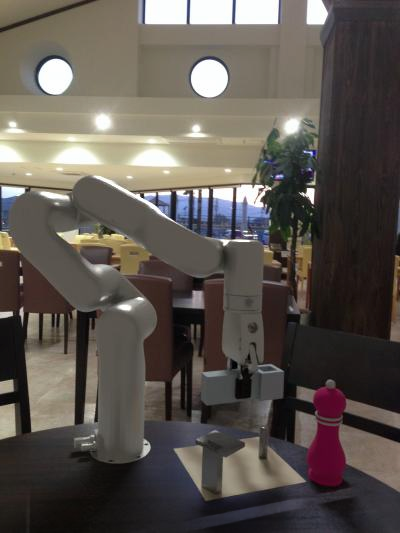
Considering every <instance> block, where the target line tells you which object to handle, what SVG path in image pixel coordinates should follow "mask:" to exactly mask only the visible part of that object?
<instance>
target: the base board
mask: <svg viewBox="0 0 400 533" xmlns="http://www.w3.org/2000/svg"><path fill="white" fill-rule="evenodd" d="M239 440H240V441H243V442H245V447H244V448H242V449H240V450H238V451H237V452H235V453H233V454H231V455H230V456H228V457H226V458H225V457H223V472H222V492H220V493H219V494H217V495H215V494H213V493H211V492H210V491H208V490H206V489H204V488H202V487H201V481H202V453H203V447H202V446H199V445H197V444H196V445H191V446H190V445H189V446H185V447H175V448H173V450H174V452H175V454H176V455H177V457H178V458H179V460H180V462H181V464H182V465H183V466H184V468H185V470H186V471H187V473H188V475H189V476H190V478H191V479H192V481H193V482H194V484H195V486H196V488H197V489H198V491H199V492H200V494H201V495H202V497H203V499H204V501H206V502H208V501H212V500H218V499H223V498H228V497H233V496H238V495H244V494H251V493H256V492H261V491H265V490H272V489H277V488H282V487H287V486H292V485H298V484H302V483H303V484H304V483H307V481H306V480H305V478H303V477H302V476H301V475H300V474H299V473H298V472H297V471H296V470H294V468H292V467H291V465H290V464H289V463H287V462H286V461H285V460H284V459H283V458H282V457H281V456H280V455H279V454H278V453H277V452H276V451H275V450H274V449H273V448H271V447H270V446H269V445H268V452H267V459H260V458H259V457H258V454H259V436H255V437H254V436H253V437H250V438H249V437H247V438H242V439H239Z"/></svg>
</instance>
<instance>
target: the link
mask: <svg viewBox="0 0 400 533" xmlns="http://www.w3.org/2000/svg"><path fill="white" fill-rule="evenodd" d="M243 370H244V368H243ZM236 378H238V369H232V370H227V369H222V370H213V371H204V372H201V380H200V381H201V382H200V383H201V386H200V388H201V392H200V400H201V401H202V402H203V404H204V405H205V406H214V405H219V404H220V405H223V404H231V403H237V402H238V403H239V402H246V401H248V402H249V401H253V400H259V401H260V402H265V401H272V400H278V399H279V400H281V399H284V387H285V386H284V385H285V384H284V380H285V370H282V369H281V368H279V367H277V366H275V365H274V364H272V363H269V364H268V363H267V364H260V365H259V364H258V372H255V373H254V374H253V379H252V385H251V397H250V398H246V399H236V398H235V384H236Z"/></svg>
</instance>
